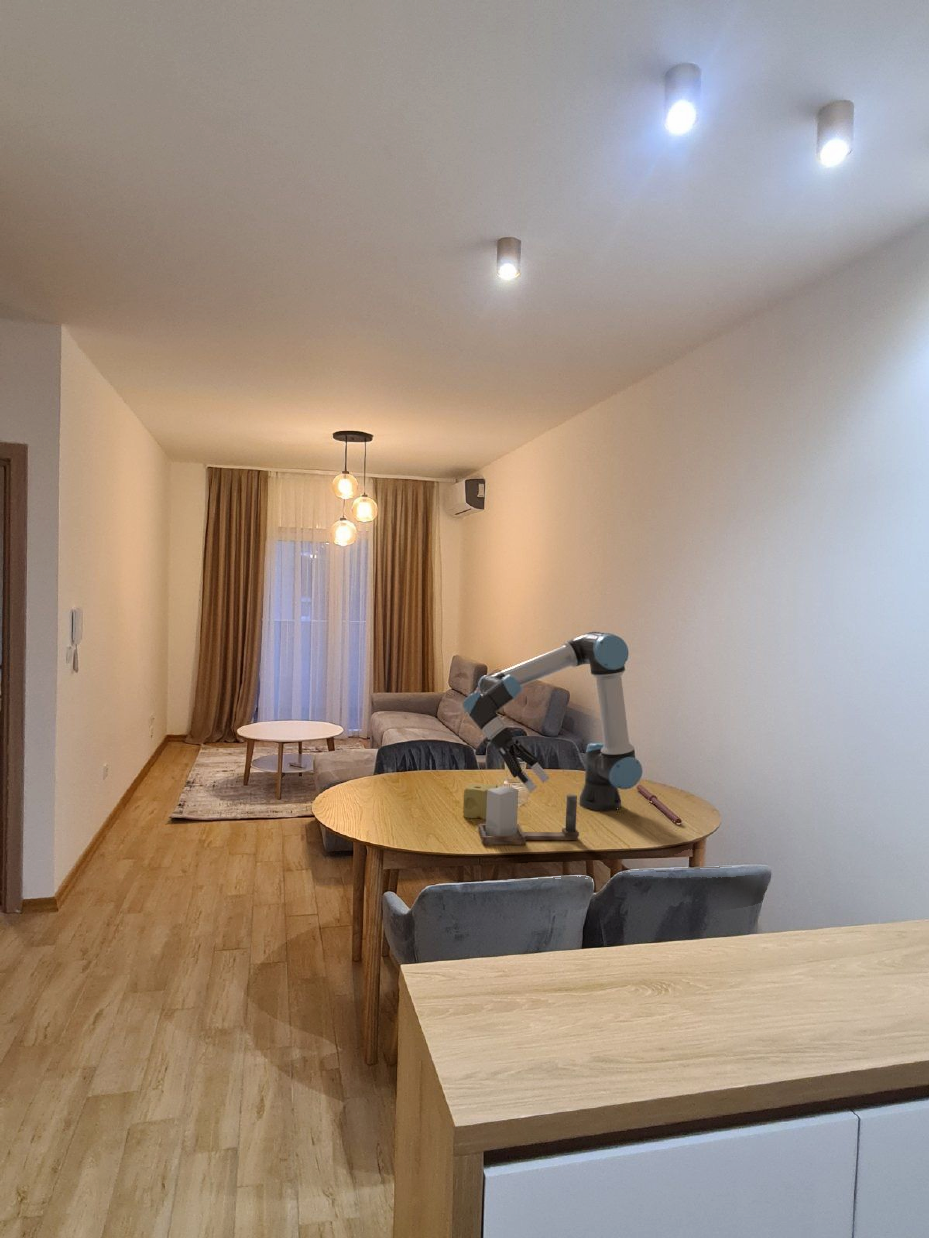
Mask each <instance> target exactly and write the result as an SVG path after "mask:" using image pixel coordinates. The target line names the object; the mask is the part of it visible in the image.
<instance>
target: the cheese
mask: <svg viewBox="0 0 929 1238" xmlns="http://www.w3.org/2000/svg"><path fill="white" fill-rule="evenodd" d="M493 788H498V784H495V783H477V782H469V783H468V784H467V786H466V787H465V788H464V790H463V791H464V792H463V804H462V805H463V806H462V807H463V808H462V810H463V812H462V814H463V815H462V816H463V818H470V819H479V818H480V819H481V820H486V809H487V790H489V789H493Z"/></svg>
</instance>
